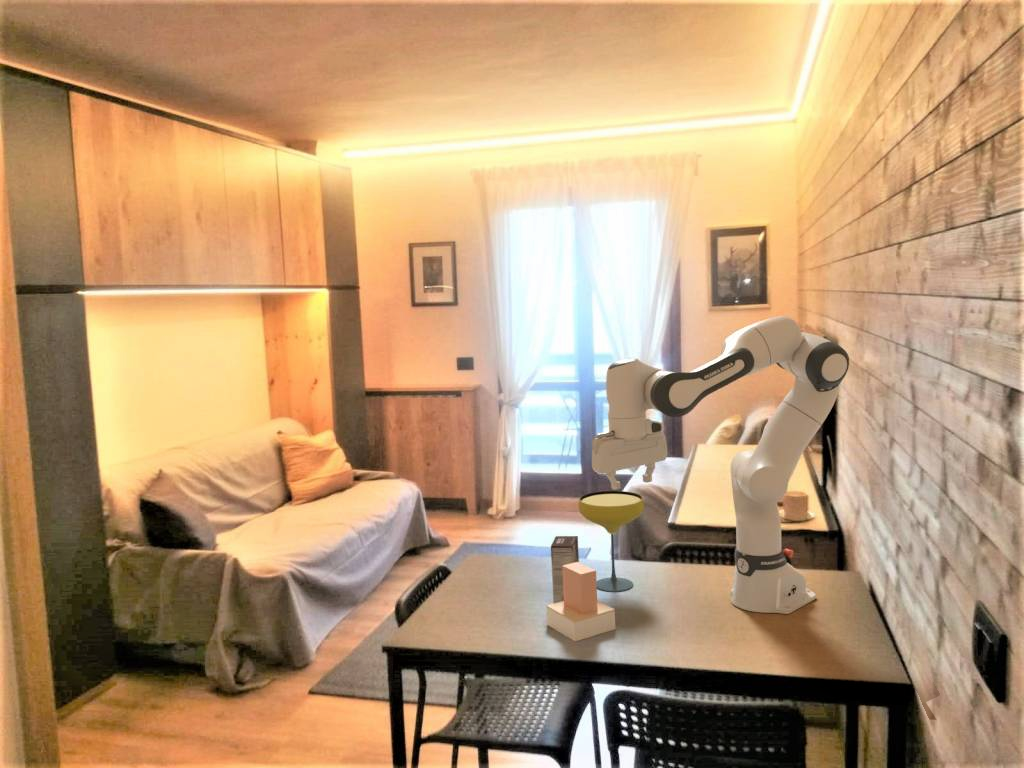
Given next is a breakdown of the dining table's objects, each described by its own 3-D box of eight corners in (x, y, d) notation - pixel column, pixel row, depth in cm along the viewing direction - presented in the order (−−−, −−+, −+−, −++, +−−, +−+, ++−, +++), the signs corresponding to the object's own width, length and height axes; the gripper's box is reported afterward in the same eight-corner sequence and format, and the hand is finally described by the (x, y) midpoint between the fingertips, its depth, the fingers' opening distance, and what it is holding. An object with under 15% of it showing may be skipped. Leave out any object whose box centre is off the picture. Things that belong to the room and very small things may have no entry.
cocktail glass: (585, 573, 229) (582, 490, 226) (647, 574, 225) (644, 490, 223) (578, 595, 211) (574, 506, 209) (645, 597, 207) (642, 506, 205)
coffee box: (557, 591, 215) (555, 535, 214) (580, 592, 214) (578, 535, 212) (552, 604, 206) (550, 545, 205) (576, 604, 205) (574, 545, 203)
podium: (586, 613, 199) (586, 594, 198) (615, 629, 188) (614, 609, 188) (547, 624, 193) (546, 605, 192) (574, 641, 182) (574, 621, 182)
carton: (578, 600, 195) (577, 561, 194) (597, 610, 188) (596, 570, 187) (563, 604, 192) (562, 565, 192) (582, 614, 186) (580, 574, 185)
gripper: (599, 436, 174) (604, 496, 176) (669, 423, 184) (673, 479, 185) (583, 433, 180) (588, 491, 181) (652, 420, 190) (656, 475, 191)
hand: (631, 485), depth 183 cm, fingers open, 8 cm apart
